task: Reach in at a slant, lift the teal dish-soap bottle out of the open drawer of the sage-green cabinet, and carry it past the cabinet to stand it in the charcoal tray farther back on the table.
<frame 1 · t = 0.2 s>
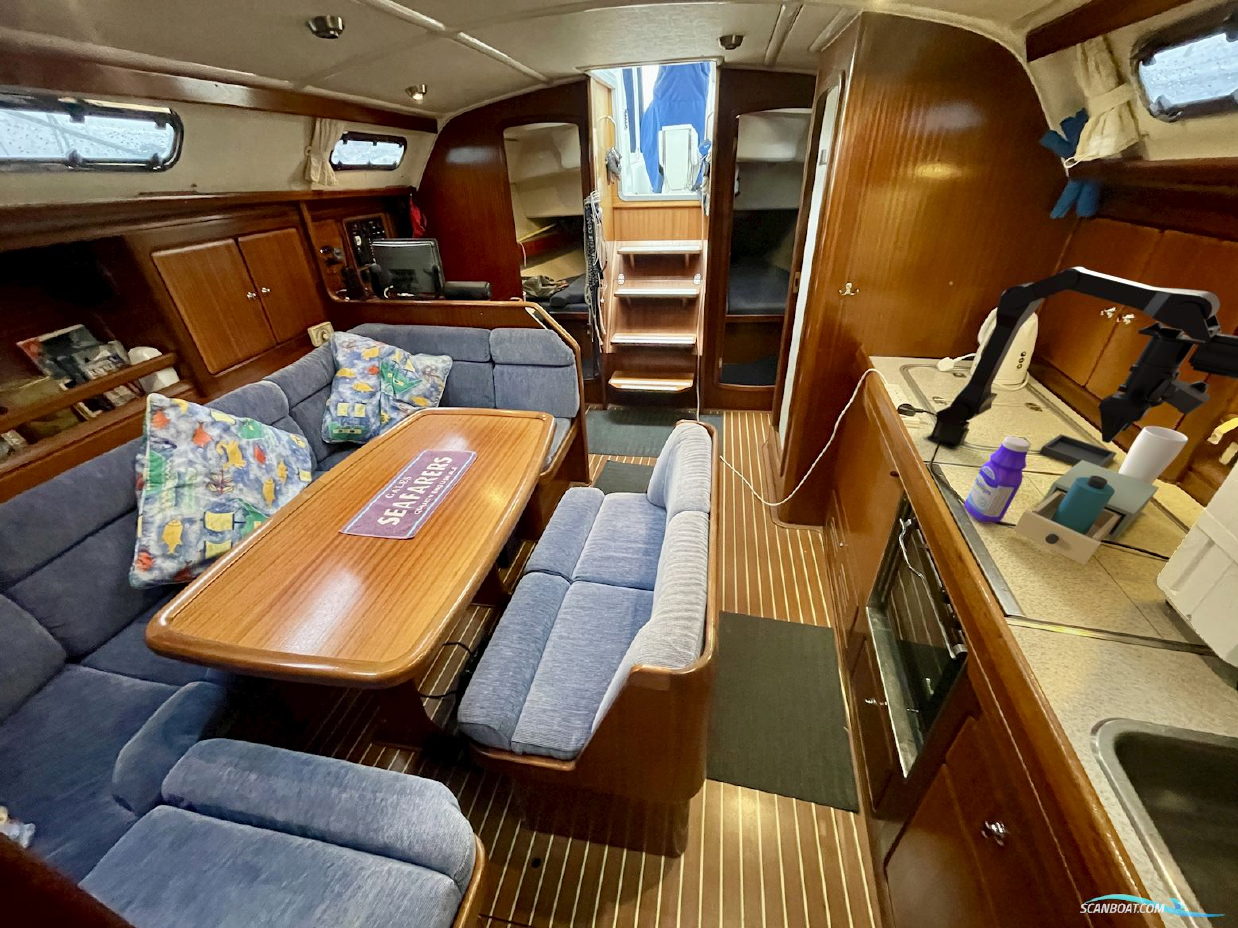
hand: (1113, 436, 98), 15 cm above the counter, tool pointing down, fingers open, 9 cm apart
drawer: (1067, 524, 92), point 3 cm above the counter, slide at 13.5 cm, touching soap bottle
cabinet: (1088, 510, 101), on the counter
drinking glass: (1123, 493, 107), on the counter
tray: (1075, 456, 120), on the counter
soap bottle: (1068, 525, 94), point 2 cm above the counter, touching drawer
bottle: (980, 515, 100), on the counter
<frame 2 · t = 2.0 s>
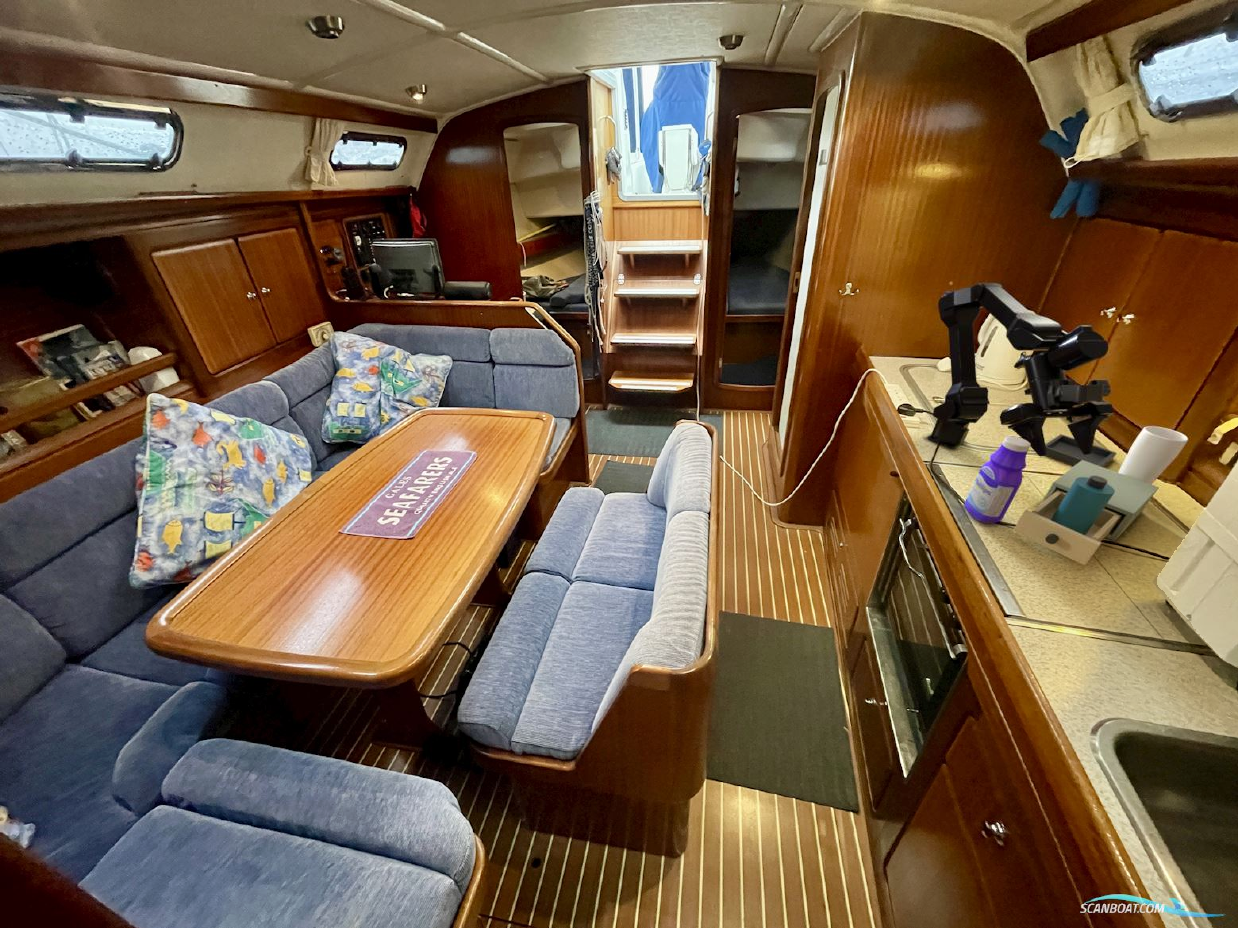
hand: (1065, 455, 94), 13 cm above the counter, tool tilted 45°, fingers open, 9 cm apart
nothing on the counter moved.
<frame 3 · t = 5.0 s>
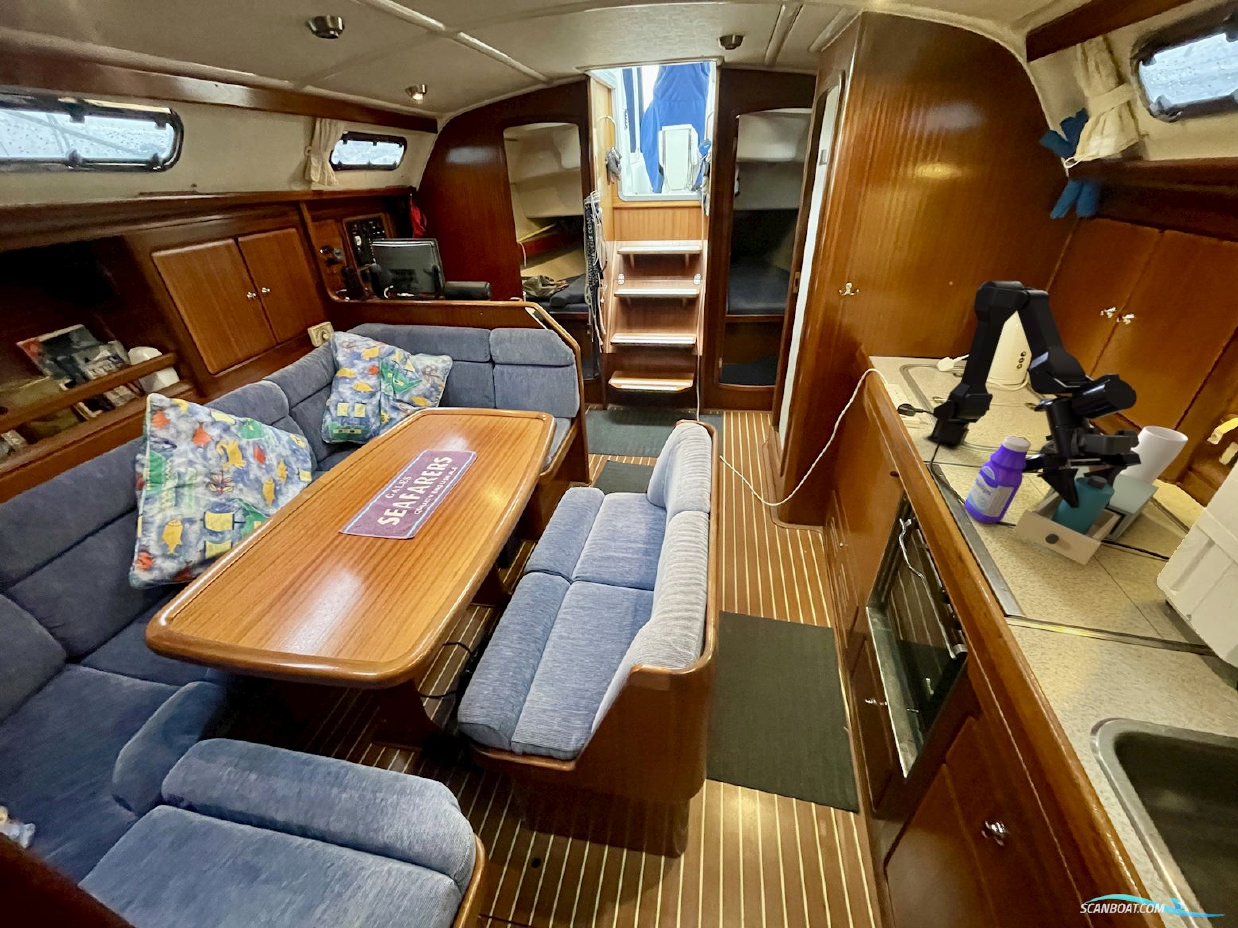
hand: (1090, 507, 89), 8 cm above the counter, tool tilted 45°, fingers closed on soap bottle, 5 cm apart
soap bottle: (1068, 525, 94), point 2 cm above the counter, touching drawer, gripper
everything else where it was.
when the fingers open (6 cm above the counter, at t = 15.1 s): soap bottle stays where it is, resting on tray.
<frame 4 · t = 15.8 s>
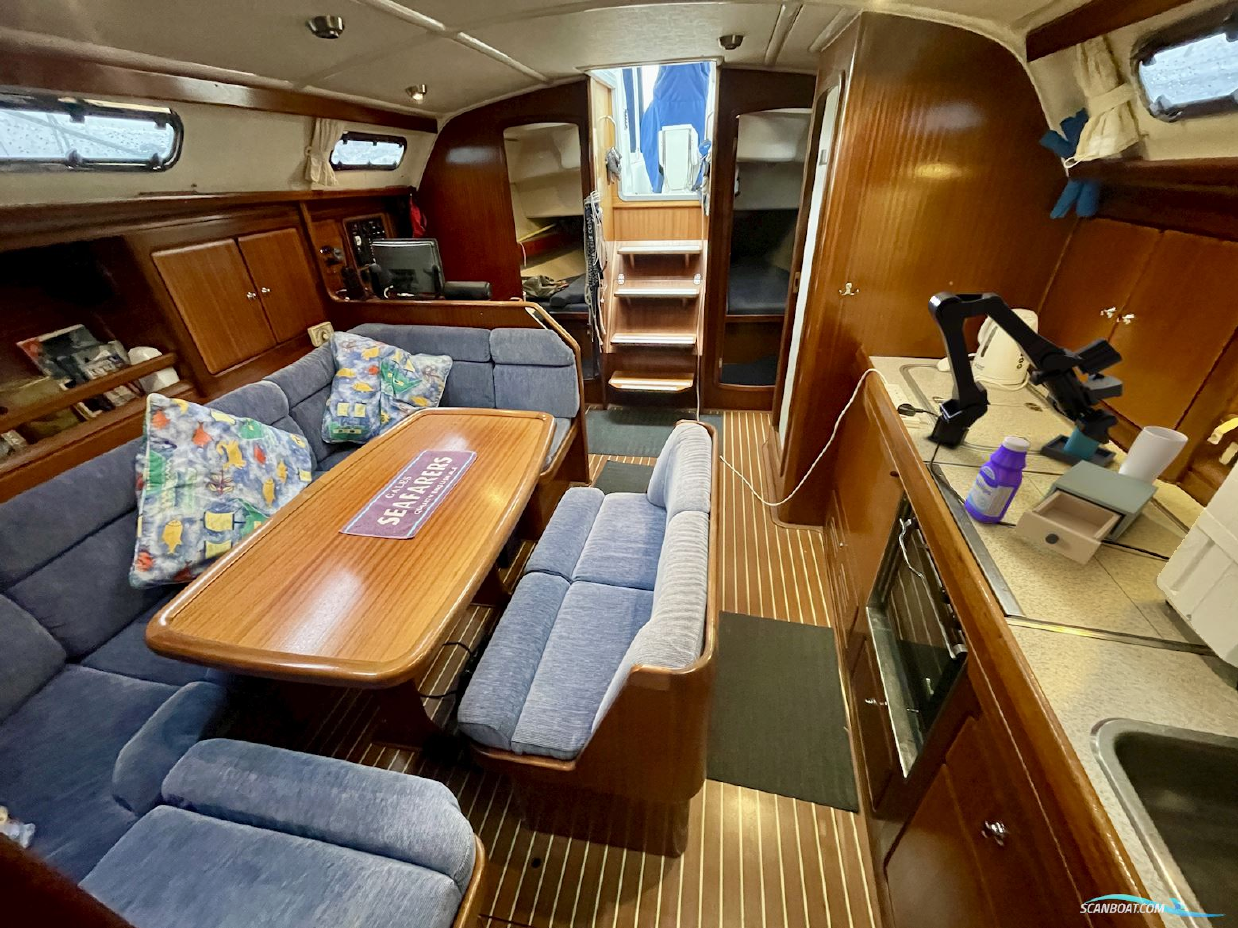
hand: (1095, 434, 116), 6 cm above the counter, tool tilted 45°, fingers open, 9 cm apart
drawer: (1067, 524, 92), point 3 cm above the counter, slide at 13.5 cm
soap bottle: (1076, 454, 119), resting on tray
everything else where it was.
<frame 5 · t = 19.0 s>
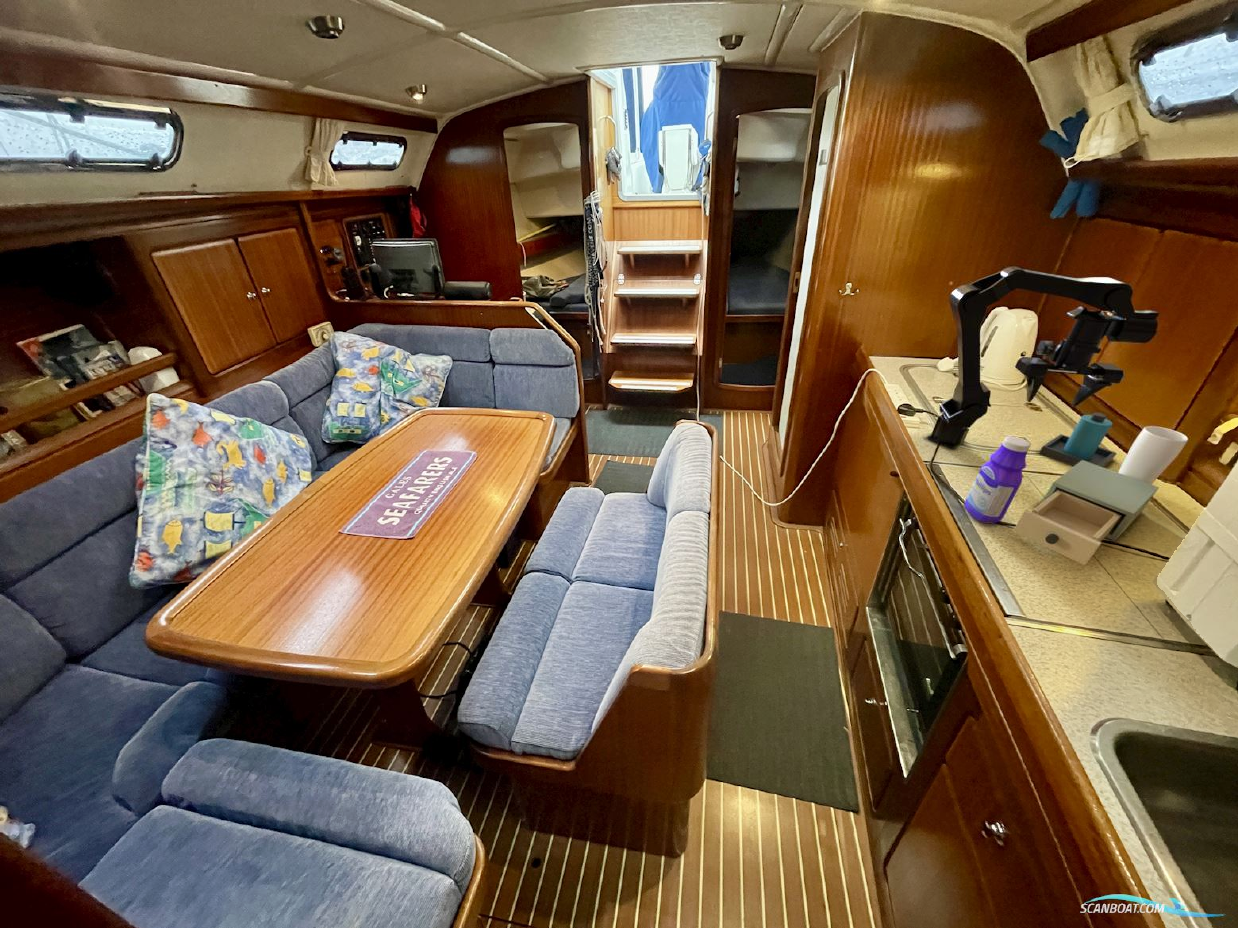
hand: (1050, 403, 115), 13 cm above the counter, tool pointing down, fingers open, 9 cm apart
nothing on the counter moved.
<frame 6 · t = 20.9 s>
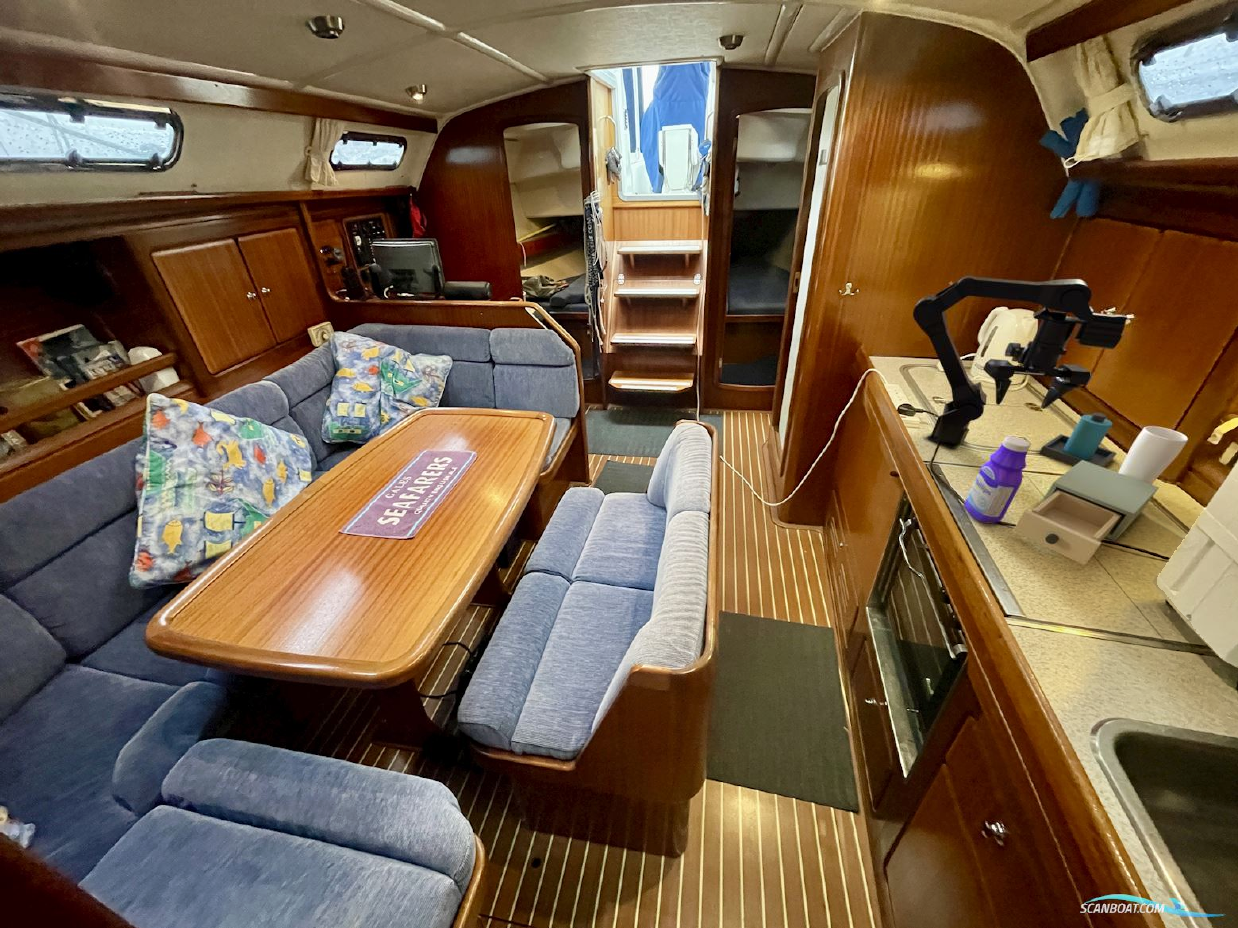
hand: (1019, 406, 114), 13 cm above the counter, tool pointing down, fingers open, 9 cm apart
nothing on the counter moved.
at the end: soap bottle inside the target area in the tray (0.0 cm from its centre), point 0.5 cm above the tray's base; soap bottle tilted 0°; soap bottle moved 39.4 cm from its start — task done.
